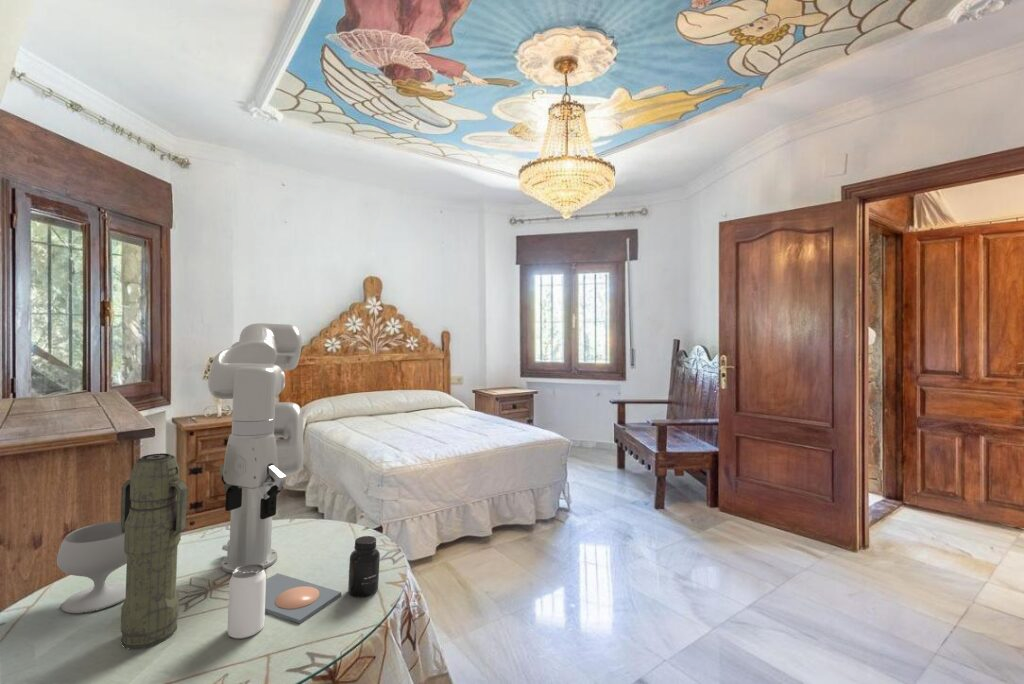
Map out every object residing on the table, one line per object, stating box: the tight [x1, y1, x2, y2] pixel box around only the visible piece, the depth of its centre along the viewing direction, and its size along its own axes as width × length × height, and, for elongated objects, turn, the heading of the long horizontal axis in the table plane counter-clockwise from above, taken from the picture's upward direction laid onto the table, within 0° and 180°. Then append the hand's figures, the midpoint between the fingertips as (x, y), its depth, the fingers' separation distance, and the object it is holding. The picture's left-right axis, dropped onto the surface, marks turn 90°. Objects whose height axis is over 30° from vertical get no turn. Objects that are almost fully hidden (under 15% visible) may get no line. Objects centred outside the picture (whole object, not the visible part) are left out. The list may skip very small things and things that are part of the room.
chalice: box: [56, 520, 127, 614], centre depth 103 cm, size 14×14×15 cm
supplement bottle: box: [347, 535, 381, 598], centre depth 111 cm, size 7×7×12 cm
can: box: [227, 564, 267, 640], centre depth 95 cm, size 6×6×12 cm
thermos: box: [120, 453, 189, 650], centre depth 92 cm, size 9×12×35 cm
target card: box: [265, 572, 342, 625], centre depth 106 cm, size 20×12×1 cm, turn 68°
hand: (250, 512), depth 94 cm, fingers open, 9 cm apart
